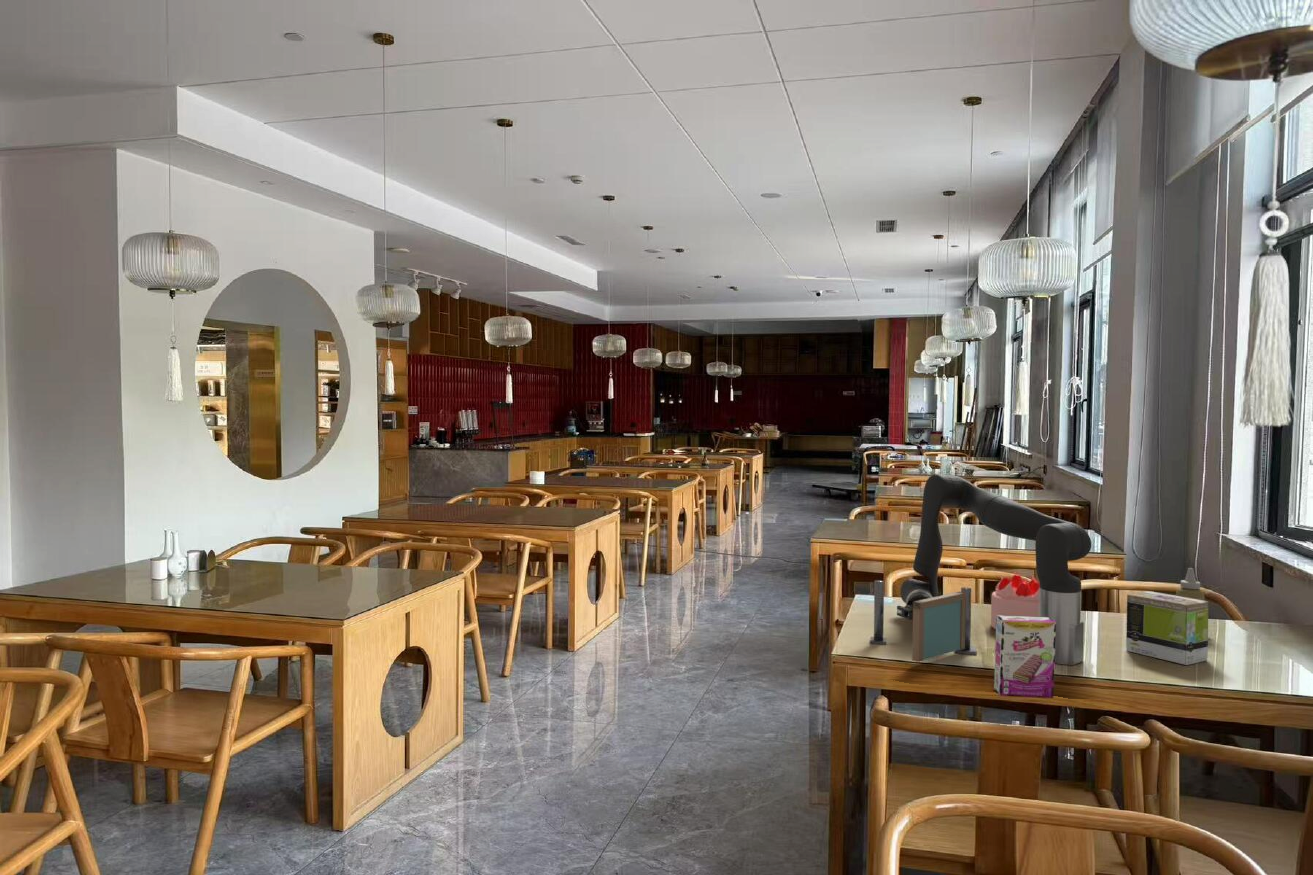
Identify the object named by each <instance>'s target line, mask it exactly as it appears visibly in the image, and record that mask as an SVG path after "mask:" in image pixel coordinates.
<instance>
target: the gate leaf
mask: <svg viewBox="0 0 1313 875" xmlns="http://www.w3.org/2000/svg"><path fill="white" fill-rule="evenodd" d="M965 608H966V593H964V592H961V591H955V592H952V593H945V594H942V595H938V596H937V597H933V598H928V599H923V600H919V601H914V602H913V620H912V647H911V648H912V649H911V650H912V656H911V657H912V661H913V662H918V663H920V662H923V661H925V660H928V659H932V658H935V657H939V656H941V655H942V656H943V655H946V654H949V653H953V652H955V651H956V650H962V649H965Z"/></svg>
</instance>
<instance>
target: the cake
mask: <svg viewBox="0 0 1313 875" xmlns="http://www.w3.org/2000/svg"><path fill="white" fill-rule="evenodd" d="M1000 578H1001V579H1000V581H999V582H998V583H997V584H996V586H995V591H993V592H992V593H991V599H990V600H991V602H990V604H991V605H990V608H991V610H990V611H991V612H990V625H991V627H992V628H993V629H994V630H996V616H998V615H1000V616H1024V617H1039V581H1037V580H1036V578H1035V576H1034V575H1033V574H1032V575H1031V579H1030V581H1027V580H1025V579H1023V578H1022V576H1021V575H1020V574H1013V575H1012V576H1011V578H1009V577H1005V576H1004V577H1003V576H1002V575H1000Z"/></svg>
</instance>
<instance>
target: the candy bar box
mask: <svg viewBox="0 0 1313 875" xmlns="http://www.w3.org/2000/svg"><path fill="white" fill-rule="evenodd" d="M1055 636H1056V623H1055V622H1054V621H1053V620H1051V619H1050V618H1047V617H1024V616H1000V615H998V616H996V629H995V649H994V650H995V651H994V680H993V687H994V688H993V689H994V690H995V692H996V693H997V694H998V695H999V696H1000V697H1014V698H1015V697H1017V698H1018V697H1019V698H1043V699H1054V694H1055V693H1054V692H1055V691H1054V690H1055V684H1054V683H1055V667H1056V666H1055V665H1056V663H1055Z"/></svg>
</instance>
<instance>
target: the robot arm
mask: <svg viewBox="0 0 1313 875" xmlns="http://www.w3.org/2000/svg"><path fill="white" fill-rule="evenodd" d="M942 507H943V508H944V507H946V508H957V509H961V510H963V511H967V512H970V513H972V514H973V515H975V516H976V519H978V521H979V522H980V523H981V524H982V525H984V526H985V527H986V528H989V529H990V530H993V531H995V532H997V533H1000V534H1002V535H1004V536H1009V537H1013V538H1018V539H1024V540H1028V541H1034V542H1035V544H1034V545H1035V547H1034V548H1035V571H1036V576H1037V579H1038V583H1039V617H1047V618H1050V619H1051V620H1053V621H1054V622H1055V623H1056V636H1055V664H1056V665H1057V664H1058V665H1069V666H1070V665H1071V666H1075V665H1077V664H1079V663H1081V662H1083V661H1084V635H1085V634H1084V630H1085V629H1084V627H1085V623H1084V621H1081V615H1082V581H1081V579H1080V578H1079V577H1077V576H1074V575H1072V574H1071V573H1070V572H1069V563H1068V562H1072V561H1079V560H1081V559H1084V558H1085V557H1087V555H1088V554H1089V553H1090V552H1091V549H1092V540H1091V537H1090V535H1089V533H1088V532H1087V531H1086V530H1085V529H1084V528H1083V527H1082V526H1081V525H1079V524H1077V523H1074V522H1070V521H1067V520H1065V519H1059V518H1056V517H1052V516H1049V515H1047V514H1044V513H1042V512H1040V511H1038V510H1035V509H1034V508H1031V507H1029V506H1026V505H1024V504H1022V503H1019V502H1018V501H1015V500H1013V499H1011V498H1009V497H1006V496H1003V495H1001V494H998V493H995V492H992V491H989V490H986V489H982V488H980V487H978V486H976V485H975V484H973V483H971V482H970V481H968V480H967V479H965V478H963V477H960V476H959V475H953V474H941V473H935V474H931V475H930V476H929V477H928V478H927V480H926V482H925V484H924V488H923V495H922V507H921V519H920V531H919V538H918V539H919V540H918V544H917V548H916V553H915V555H914V560H913V565H912V568H913V571H914V572H915V573H917V574H918V575H920V576H923V577H925V578H926V579H927V581H928V582H926V581H922V580H917V579H914V578H907V579H905V580H903V582H902V584H901V586H900V591H899V592H900V593H899V594H900V599H901V600H902V602H903V603H904V604H905V606H901V605H897V606H896V616H898V617H900V618H903V619H907V620H908V621H909V620H910V621H913V602H914V601H919V600H923V599H928V598H933V597H937V596H939V591H938V573H939V572H938V571H939V567H940V563H941V559H942V557H943V556H942V555H943V551H944V550H943V549H944V548H943V547H944V546H943V545H944V544H943V540H942V536H941V532H940V528H939V517H940V512H941V510H942Z"/></svg>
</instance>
